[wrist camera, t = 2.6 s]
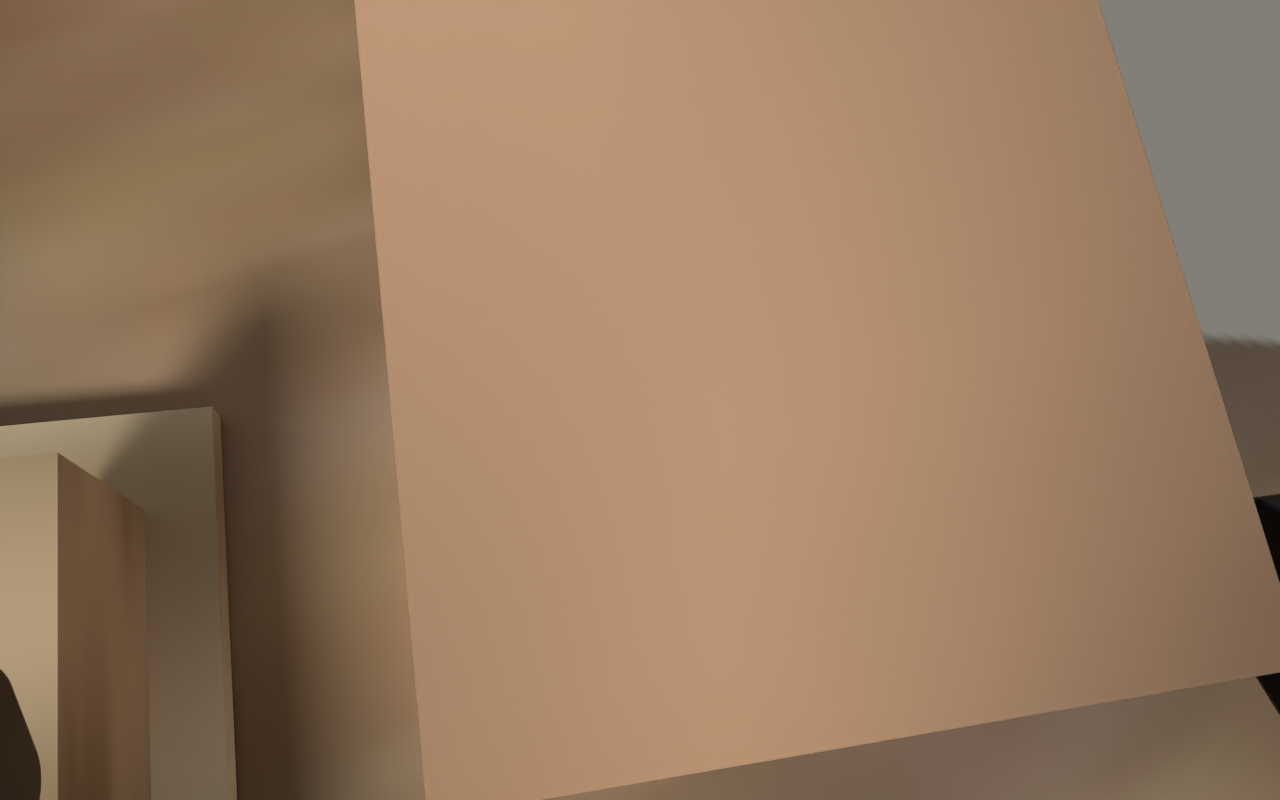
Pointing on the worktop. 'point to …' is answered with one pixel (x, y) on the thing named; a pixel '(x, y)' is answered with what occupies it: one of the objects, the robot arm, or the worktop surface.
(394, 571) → the worktop surface
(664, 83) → the tan rectangular block
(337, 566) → the worktop surface
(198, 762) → the drying rack
